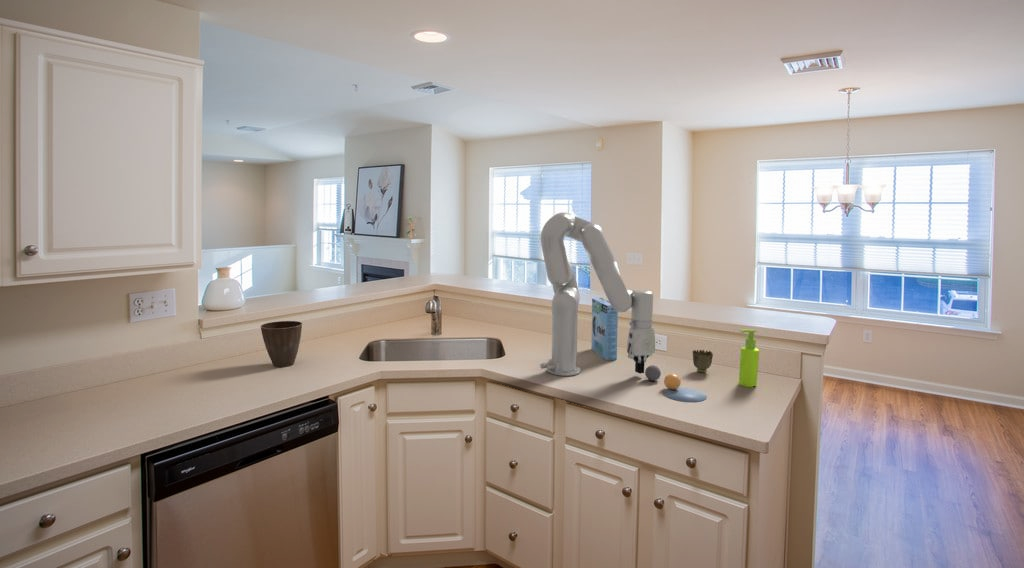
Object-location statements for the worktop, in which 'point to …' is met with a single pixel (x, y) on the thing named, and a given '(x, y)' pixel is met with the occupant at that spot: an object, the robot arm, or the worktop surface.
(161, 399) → the worktop surface
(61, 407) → the worktop surface
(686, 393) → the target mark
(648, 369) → the grey sphere
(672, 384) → the object ball
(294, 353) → the plant pot
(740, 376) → the soap dispenser
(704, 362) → the cup
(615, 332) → the gum box
